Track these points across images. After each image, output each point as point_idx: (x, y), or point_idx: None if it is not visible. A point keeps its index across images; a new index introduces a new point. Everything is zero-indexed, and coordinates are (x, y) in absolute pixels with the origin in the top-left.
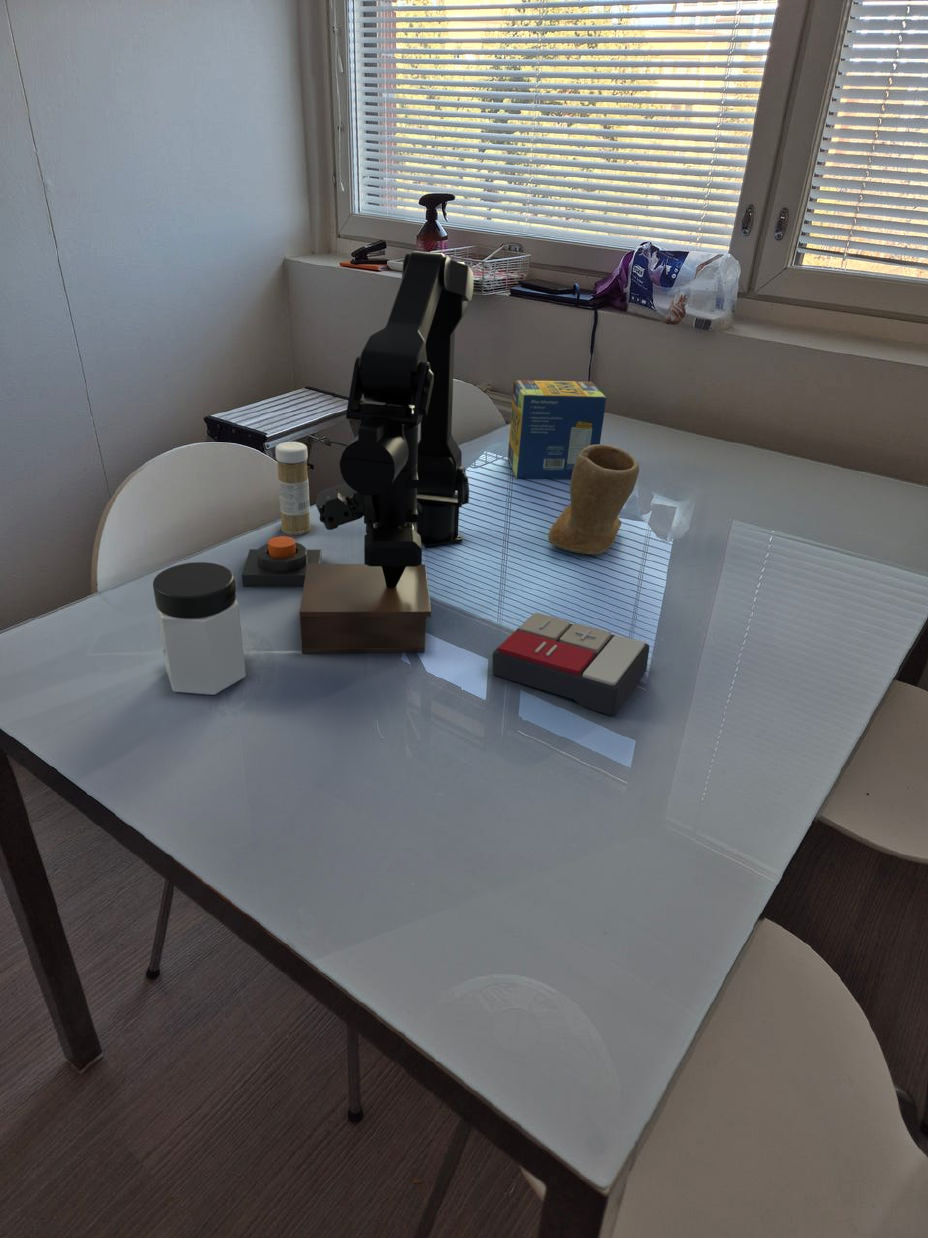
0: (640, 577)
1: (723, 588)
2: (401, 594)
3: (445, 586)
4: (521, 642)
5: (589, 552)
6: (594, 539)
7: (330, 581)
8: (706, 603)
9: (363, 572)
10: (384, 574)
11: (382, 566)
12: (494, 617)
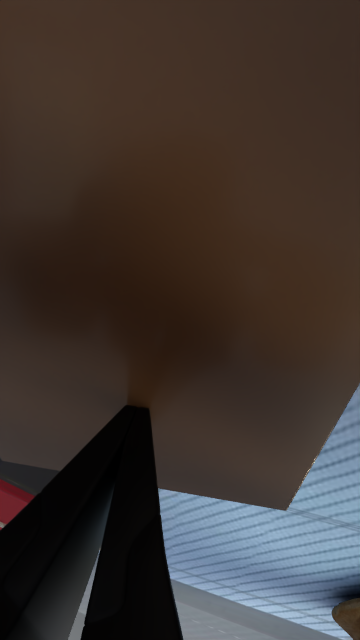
0: (264, 599)
1: (221, 619)
2: (84, 428)
3: (326, 449)
4: (9, 509)
5: (337, 609)
6: (354, 636)
7: (199, 170)
8: (193, 604)
9: (277, 350)
10: (78, 454)
11: (32, 499)
12: None
